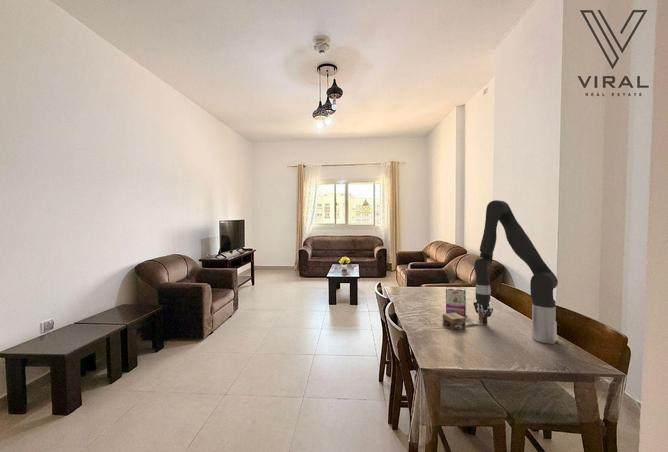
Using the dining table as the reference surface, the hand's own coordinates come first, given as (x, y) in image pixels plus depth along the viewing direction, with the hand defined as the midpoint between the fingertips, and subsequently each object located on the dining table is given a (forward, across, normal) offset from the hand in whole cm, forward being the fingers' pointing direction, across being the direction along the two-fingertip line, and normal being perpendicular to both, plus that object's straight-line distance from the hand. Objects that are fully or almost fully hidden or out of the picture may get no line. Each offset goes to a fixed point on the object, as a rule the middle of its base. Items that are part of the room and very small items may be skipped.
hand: (482, 322), depth 163 cm
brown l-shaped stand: (+1, 0, +6) cm, 6 cm away
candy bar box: (+1, +17, +6) cm, 18 cm away
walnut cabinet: (+1, 0, +19) cm, 19 cm away
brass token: (+1, 0, +19) cm, 19 cm away
